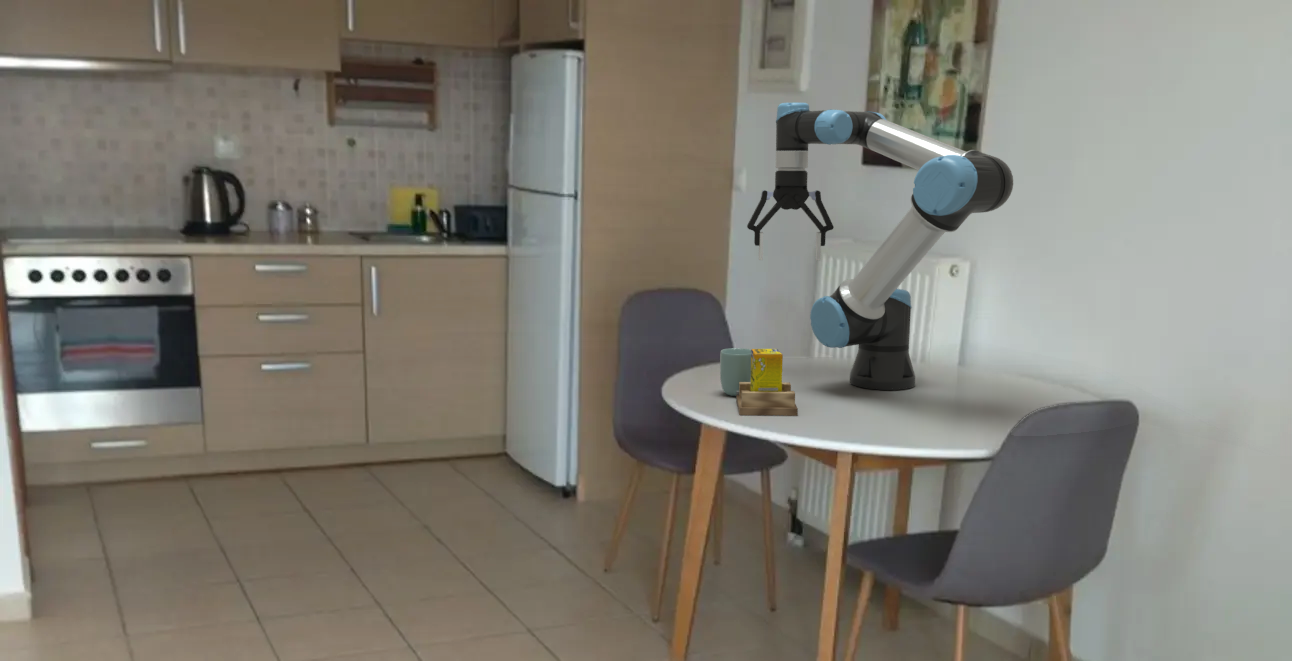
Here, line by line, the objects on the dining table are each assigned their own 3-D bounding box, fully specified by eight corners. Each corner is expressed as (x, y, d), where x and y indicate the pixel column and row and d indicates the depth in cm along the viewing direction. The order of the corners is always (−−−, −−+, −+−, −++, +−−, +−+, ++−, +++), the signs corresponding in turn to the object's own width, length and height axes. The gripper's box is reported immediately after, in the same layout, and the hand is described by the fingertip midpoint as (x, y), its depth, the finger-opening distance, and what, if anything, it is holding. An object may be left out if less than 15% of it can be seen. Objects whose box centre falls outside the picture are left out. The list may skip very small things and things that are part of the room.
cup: (752, 399, 241) (753, 354, 239) (717, 397, 242) (718, 353, 241) (755, 391, 248) (756, 348, 247) (722, 390, 250) (722, 347, 248)
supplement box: (749, 398, 235) (750, 348, 233) (777, 398, 235) (778, 348, 233) (753, 404, 229) (754, 353, 227) (781, 404, 229) (783, 353, 228)
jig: (791, 401, 239) (791, 381, 238) (797, 415, 226) (798, 394, 225) (736, 401, 239) (736, 381, 238) (739, 415, 226) (740, 394, 225)
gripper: (842, 169, 259) (839, 258, 262) (737, 169, 260) (736, 257, 263) (847, 170, 252) (844, 261, 255) (739, 169, 252) (737, 260, 256)
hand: (789, 259), depth 259 cm, fingers open, 13 cm apart
